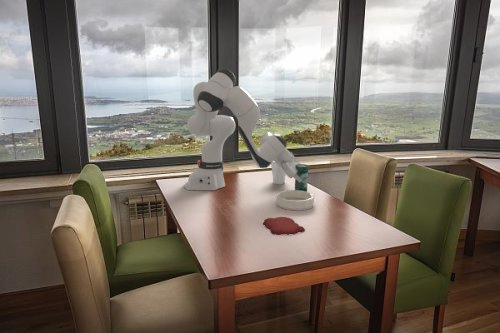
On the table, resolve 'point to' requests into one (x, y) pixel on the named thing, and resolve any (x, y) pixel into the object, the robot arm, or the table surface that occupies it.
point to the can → (302, 177)
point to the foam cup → (277, 173)
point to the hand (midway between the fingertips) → (302, 178)
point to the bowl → (295, 200)
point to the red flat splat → (282, 226)
